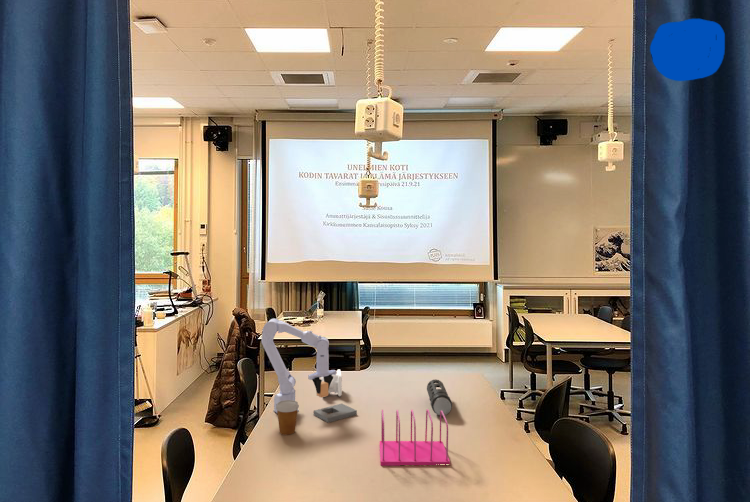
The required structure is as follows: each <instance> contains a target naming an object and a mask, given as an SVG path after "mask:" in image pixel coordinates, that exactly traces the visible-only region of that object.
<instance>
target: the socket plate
mask: <svg viewBox="0 0 750 502" xmlns="http://www.w3.org/2000/svg"><path fill="white" fill-rule="evenodd" d="M357 412H358V410H357V409H354V408H352V407H350V406H349V405H346V404H344V403H339V404H335V405H330V406H327V407H322V408H319V409H315V410H313V416H314V417H316V418H318V419H320V420H322V421H324V422H326V423H327V424H328V423H333V422H336V421H339V420H344V419H346V418H351V417H353V416H356V415H357V414H358V413H357Z"/></svg>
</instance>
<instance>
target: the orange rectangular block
mask: <svg viewBox="0 0 750 502" xmlns="http://www.w3.org/2000/svg"><path fill="white" fill-rule="evenodd" d="M316 396H317V397H319V398H325V396H326V397H328V396H329V393H328V383H327V382H324V381H322V382H321V390H320V394H319V393H317V392H316Z"/></svg>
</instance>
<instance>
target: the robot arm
mask: <svg viewBox="0 0 750 502" xmlns="http://www.w3.org/2000/svg"><path fill="white" fill-rule="evenodd" d="M261 332H262V333H261V345H262V346H263V349H264V351H265V353H266V355H267V357H268V359H269V361H270V363H271V366H272V368H273V369H274V372H275V374H276V377H277V382H278V384H279V388H278V389H279V392H278V393H277V394H274V398H273V403H274V404H273V412H275V414H278V413H277V409H276V406H277V403H278V402H280V401H285V400H293V401H296V390H295V385H296V378H295V377H294V376H293V375H292V374H291V372H290V371H289V370H288V369H287V367H286V365H285V363H284V361H283V359H282V357H281V355H280V352H279V350H278V349H277V346H276V344H275V342H274V338H275V336H276V334H277V333H278V334H280V333H288V334H289V335H292V336H294V337H296V338H299V339H301V342H302V343H304V344H306V345H309V346H310V347H313V348H315V349H316V372H314V373H311V374H308V380H310V381H312V382H313V384H314V388H315V391H316V394H317V393H319V394H320V390H321V382H322V380H321V377H324V382H327V383H328V390H329V386H330V383H331V381H332V379H333V376H332V375H336V374H337V370H335V369H331V370H329V367H330V366H329V365H330V363H329V359H330V357H329V356H330V354H329V345H330V342H329V339H328V338H327V337H326V336H322V335H318V334H316V333H314V332H313V331H312V330H305V331H302V330H301V329H299V328H297V327H295V326H293V325H291V324H289V323H288V322H285V321H283V320H279V319H278V318H274V317H273V318H271V319H269V321H267V322H266V323H265V324H264V325H263V327H262V329H261ZM299 410H300V409H298V411H297V412H299Z"/></svg>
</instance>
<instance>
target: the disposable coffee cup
mask: <svg viewBox="0 0 750 502" xmlns="http://www.w3.org/2000/svg"><path fill="white" fill-rule="evenodd" d="M276 409H277V413H276V414H277V420H278V422H277V423H278V428H279V434H281V435H283V436H284V435H285V436H287V435H293V434H294V433H295V432H296V427H297V426H296V425H297V418H298V412H299V411H298V410H299V403H298V401H296V400H295V401H293V400H285V401H280V402H278V403H277V406H276Z"/></svg>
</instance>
